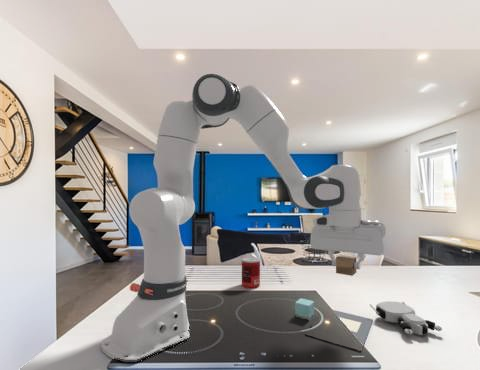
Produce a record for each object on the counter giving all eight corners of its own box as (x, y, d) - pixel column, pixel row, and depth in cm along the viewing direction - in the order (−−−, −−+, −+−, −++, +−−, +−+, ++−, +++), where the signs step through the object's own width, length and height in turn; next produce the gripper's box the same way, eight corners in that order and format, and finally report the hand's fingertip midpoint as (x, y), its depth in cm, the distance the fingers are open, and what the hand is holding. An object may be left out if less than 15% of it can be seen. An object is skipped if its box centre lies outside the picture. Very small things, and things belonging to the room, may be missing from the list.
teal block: (309, 321, 79) (309, 305, 79) (295, 317, 82) (295, 302, 82) (314, 315, 83) (314, 301, 83) (300, 312, 85) (300, 298, 86)
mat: (361, 352, 63) (361, 350, 63) (304, 334, 71) (304, 333, 71) (373, 320, 80) (373, 319, 80) (326, 309, 87) (326, 308, 87)
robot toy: (445, 340, 71) (400, 312, 86) (446, 323, 71) (401, 298, 86) (406, 344, 68) (367, 315, 83) (407, 327, 68) (368, 301, 83)
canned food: (260, 283, 114) (260, 257, 115) (259, 289, 106) (259, 261, 107) (242, 282, 115) (242, 256, 116) (240, 288, 107) (241, 261, 108)
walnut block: (352, 275, 74) (352, 259, 74) (336, 273, 77) (335, 257, 77) (356, 272, 78) (356, 256, 78) (340, 269, 80) (340, 254, 81)
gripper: (386, 220, 75) (387, 270, 74) (314, 217, 86) (315, 260, 85) (384, 222, 70) (385, 275, 69) (308, 219, 81) (308, 264, 80)
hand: (346, 267), depth 77 cm, fingers closed on walnut block, 5 cm apart
